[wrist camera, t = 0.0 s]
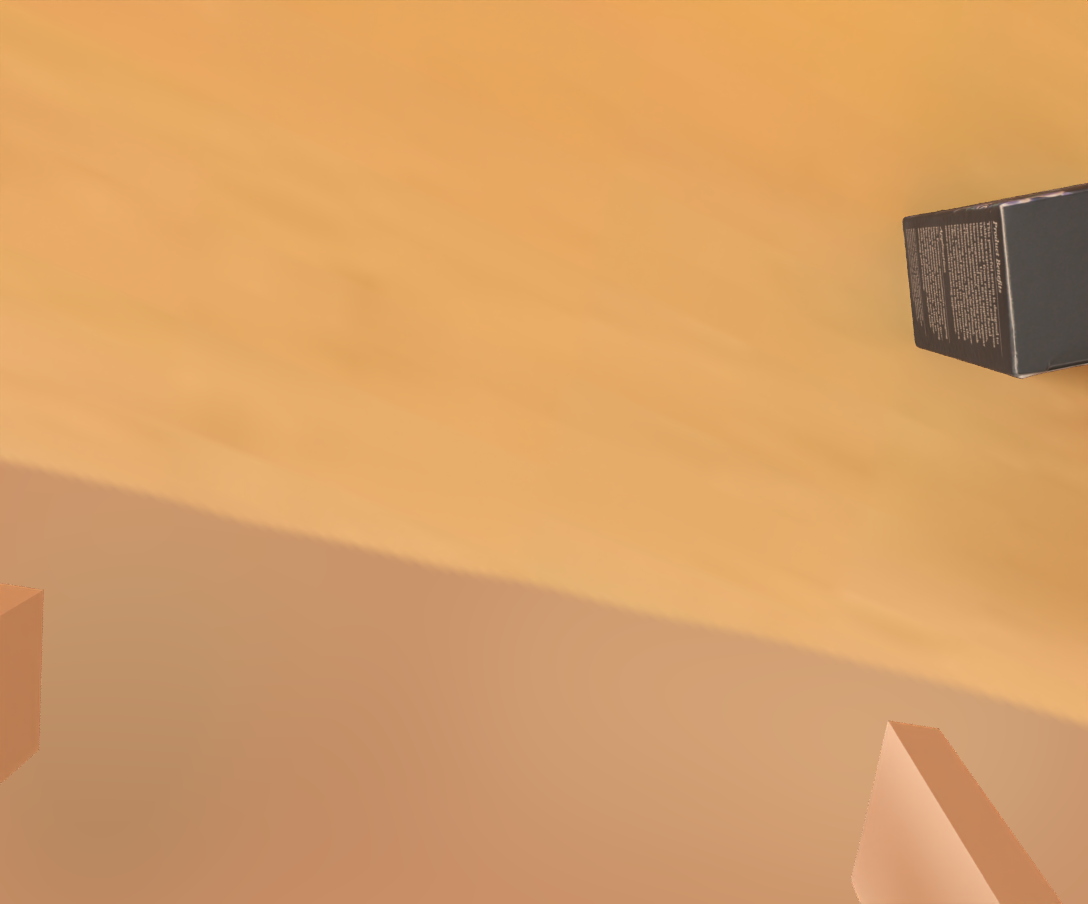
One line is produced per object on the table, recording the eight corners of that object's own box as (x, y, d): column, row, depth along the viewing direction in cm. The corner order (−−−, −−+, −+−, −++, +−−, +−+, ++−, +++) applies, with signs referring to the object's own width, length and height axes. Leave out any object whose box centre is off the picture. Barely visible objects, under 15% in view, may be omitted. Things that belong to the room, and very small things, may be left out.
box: (1093, 178, 39) (1271, 151, 28) (1103, 317, 40) (1278, 339, 29) (896, 215, 39) (1000, 201, 29) (911, 350, 41) (1016, 383, 30)
